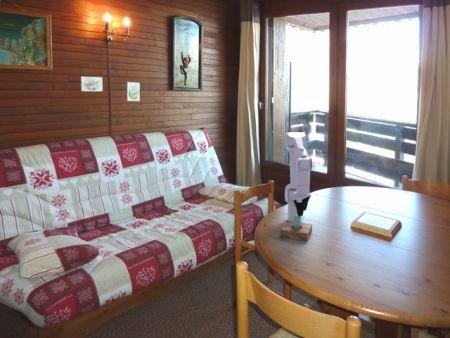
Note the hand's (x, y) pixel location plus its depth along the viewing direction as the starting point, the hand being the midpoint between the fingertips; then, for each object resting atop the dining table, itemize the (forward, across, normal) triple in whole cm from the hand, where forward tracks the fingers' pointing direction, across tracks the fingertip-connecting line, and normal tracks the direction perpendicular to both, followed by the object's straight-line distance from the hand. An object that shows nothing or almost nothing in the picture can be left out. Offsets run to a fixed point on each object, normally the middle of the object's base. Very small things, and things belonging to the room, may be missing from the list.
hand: (301, 212), depth 178 cm
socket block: (+10, +2, -2) cm, 10 cm away
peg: (+10, +2, -2) cm, 10 cm away
